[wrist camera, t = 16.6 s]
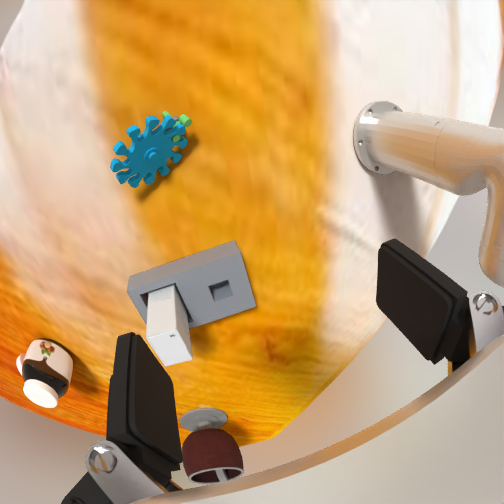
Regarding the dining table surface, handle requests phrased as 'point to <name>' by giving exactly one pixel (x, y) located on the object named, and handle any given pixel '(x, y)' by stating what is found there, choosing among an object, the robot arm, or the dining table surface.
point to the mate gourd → (209, 448)
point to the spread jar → (45, 371)
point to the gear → (150, 149)
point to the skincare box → (168, 325)
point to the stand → (199, 284)
